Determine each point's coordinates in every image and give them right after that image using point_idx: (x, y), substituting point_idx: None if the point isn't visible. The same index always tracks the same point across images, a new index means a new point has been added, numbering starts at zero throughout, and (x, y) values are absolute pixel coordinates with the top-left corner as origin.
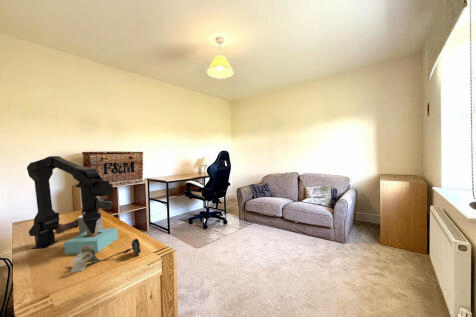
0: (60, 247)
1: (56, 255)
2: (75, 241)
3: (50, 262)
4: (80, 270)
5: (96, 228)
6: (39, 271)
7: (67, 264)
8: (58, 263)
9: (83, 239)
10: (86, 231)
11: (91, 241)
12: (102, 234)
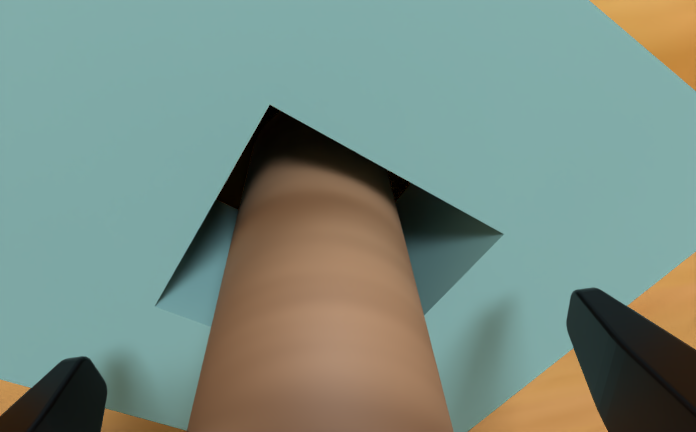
0: (134, 423)
1: None
2: (472, 413)
3: None
4: None
5: (379, 299)
6: (594, 426)
7: (666, 312)
8: (562, 367)
9: (480, 352)
10: (18, 371)
11: (685, 245)
12: (487, 101)
